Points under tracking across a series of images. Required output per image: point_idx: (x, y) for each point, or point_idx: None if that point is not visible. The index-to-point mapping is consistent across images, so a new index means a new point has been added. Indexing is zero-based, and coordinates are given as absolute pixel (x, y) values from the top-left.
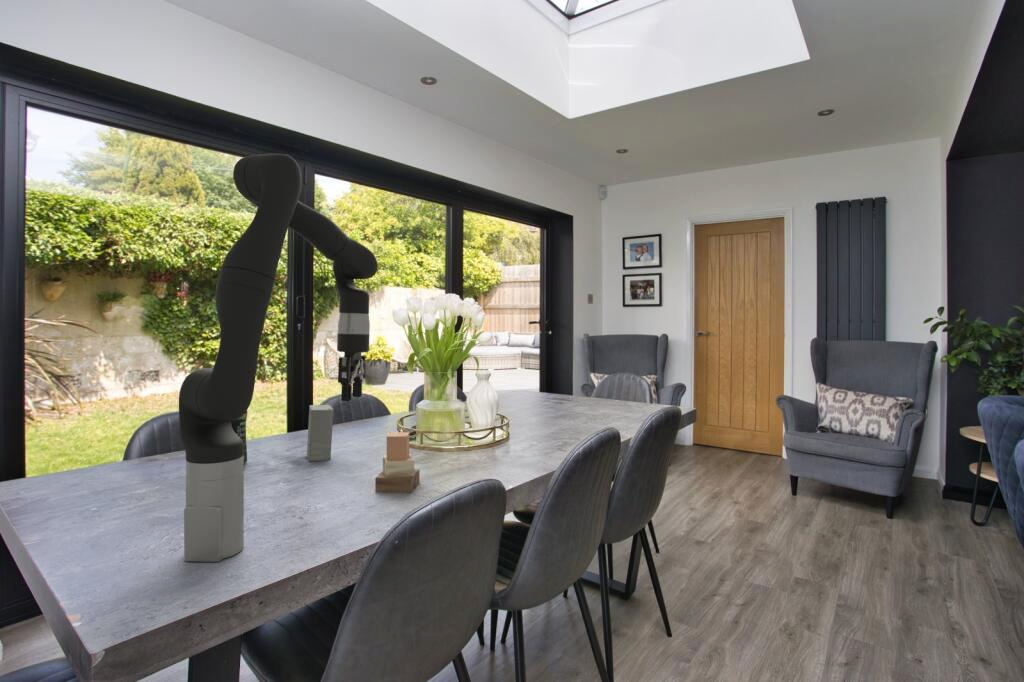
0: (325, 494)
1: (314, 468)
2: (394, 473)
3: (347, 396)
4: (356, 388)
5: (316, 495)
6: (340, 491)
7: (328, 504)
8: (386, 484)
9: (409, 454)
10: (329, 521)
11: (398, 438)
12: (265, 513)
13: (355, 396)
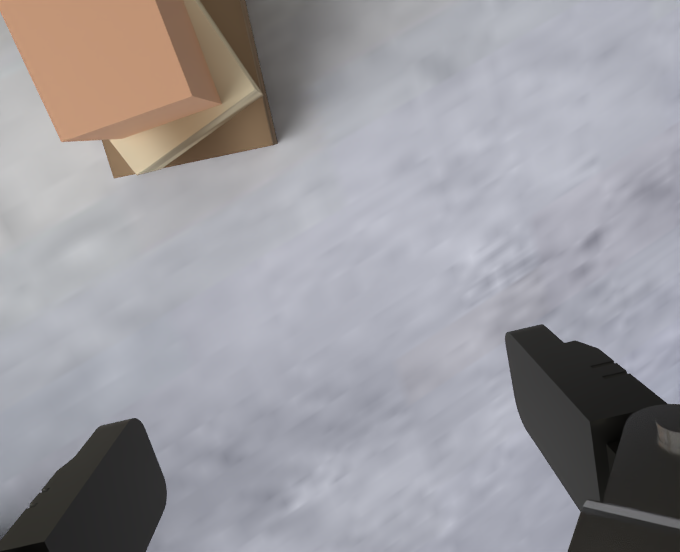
0: (361, 303)
1: None
2: (237, 57)
3: (601, 358)
4: (116, 529)
5: (380, 325)
6: (314, 273)
7: (456, 232)
8: (263, 94)
9: None
10: (609, 132)
11: (163, 11)
12: None
13: (158, 468)
